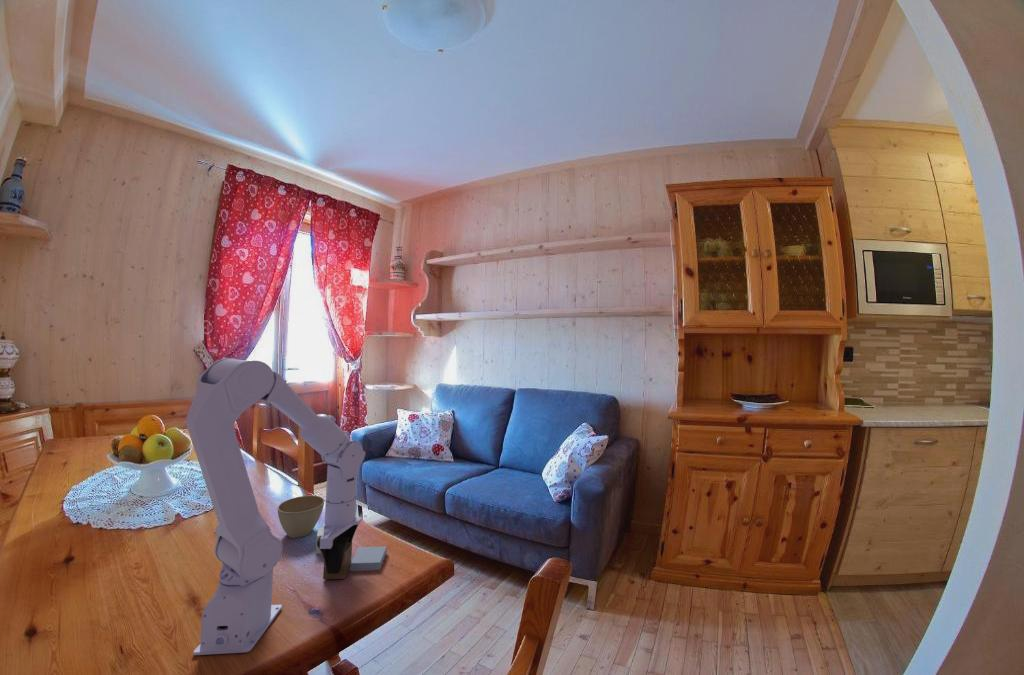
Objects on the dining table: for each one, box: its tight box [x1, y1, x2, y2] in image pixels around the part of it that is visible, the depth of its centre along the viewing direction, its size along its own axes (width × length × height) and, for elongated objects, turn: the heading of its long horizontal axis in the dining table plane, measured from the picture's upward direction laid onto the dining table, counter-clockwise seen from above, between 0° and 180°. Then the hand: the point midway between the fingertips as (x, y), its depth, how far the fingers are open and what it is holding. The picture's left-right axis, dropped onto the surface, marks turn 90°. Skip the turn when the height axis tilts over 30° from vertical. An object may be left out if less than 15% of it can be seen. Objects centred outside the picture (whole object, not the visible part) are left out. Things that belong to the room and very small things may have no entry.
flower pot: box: [277, 495, 326, 539], centre depth 88 cm, size 10×10×7 cm
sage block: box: [315, 526, 323, 555], centre depth 82 cm, size 4×4×4 cm
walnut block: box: [322, 541, 353, 580], centre depth 72 cm, size 4×4×5 cm
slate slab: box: [349, 546, 388, 572], centre depth 77 cm, size 6×6×2 cm
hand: (337, 565), depth 72 cm, fingers closed on walnut block, 4 cm apart
